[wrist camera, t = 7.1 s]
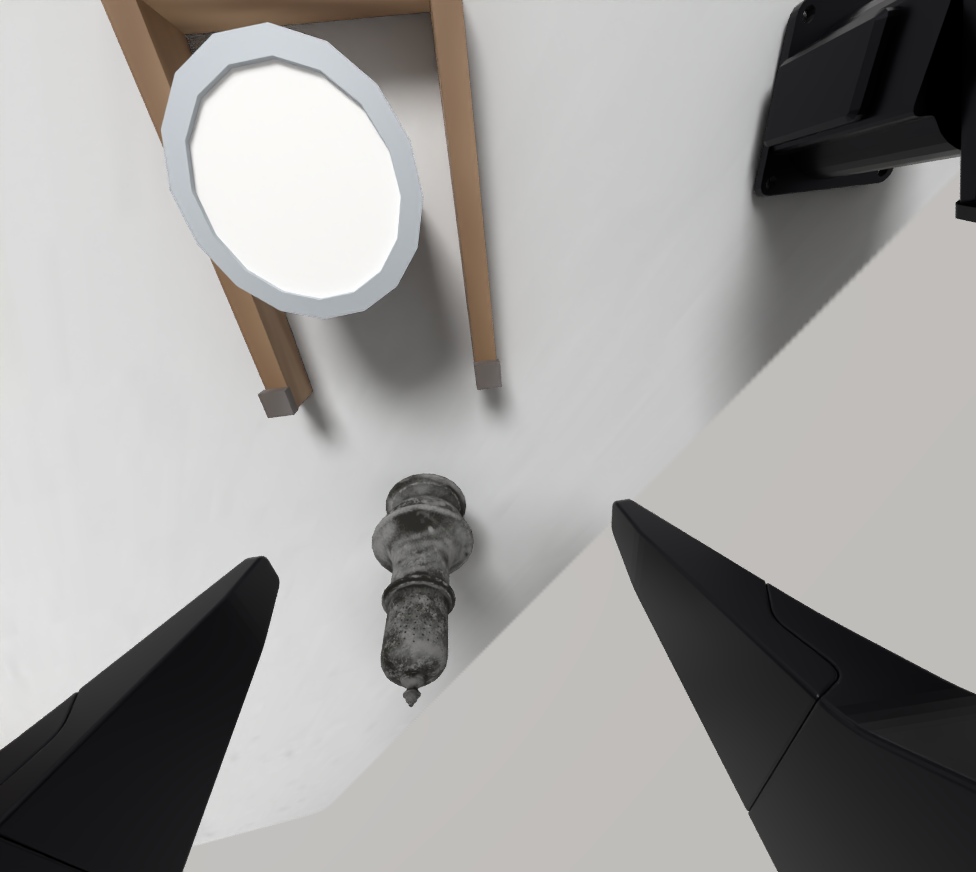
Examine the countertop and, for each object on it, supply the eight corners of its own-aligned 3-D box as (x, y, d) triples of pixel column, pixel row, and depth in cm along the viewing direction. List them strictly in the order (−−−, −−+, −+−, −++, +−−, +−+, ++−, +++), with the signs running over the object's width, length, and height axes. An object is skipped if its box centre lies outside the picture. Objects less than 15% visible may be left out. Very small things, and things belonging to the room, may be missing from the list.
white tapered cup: (426, 117, 15) (412, 29, 9) (435, 293, 18) (430, 319, 12) (251, 108, 14) (106, 8, 8) (293, 293, 18) (210, 320, 11)
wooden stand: (455, -31, 13) (458, -103, 10) (494, 367, 20) (502, 386, 18) (138, -3, 13) (54, -70, 10) (292, 394, 20) (268, 418, 17)
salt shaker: (429, 551, 26) (418, 757, 16) (362, 509, 24) (297, 717, 13) (487, 503, 25) (518, 695, 14) (422, 453, 22) (401, 639, 12)
